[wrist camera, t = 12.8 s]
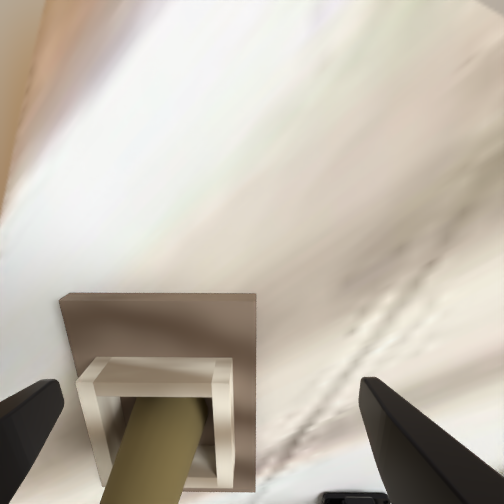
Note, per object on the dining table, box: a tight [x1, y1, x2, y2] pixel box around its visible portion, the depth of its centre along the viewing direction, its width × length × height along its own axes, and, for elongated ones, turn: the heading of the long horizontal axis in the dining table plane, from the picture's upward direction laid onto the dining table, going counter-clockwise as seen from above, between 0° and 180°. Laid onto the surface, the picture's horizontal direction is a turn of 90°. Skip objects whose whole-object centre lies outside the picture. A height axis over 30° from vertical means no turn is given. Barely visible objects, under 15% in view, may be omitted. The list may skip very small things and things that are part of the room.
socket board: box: [59, 293, 256, 492], centre depth 21 cm, size 20×14×4 cm
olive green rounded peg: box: [100, 397, 208, 504], centre depth 17 cm, size 6×6×11 cm
